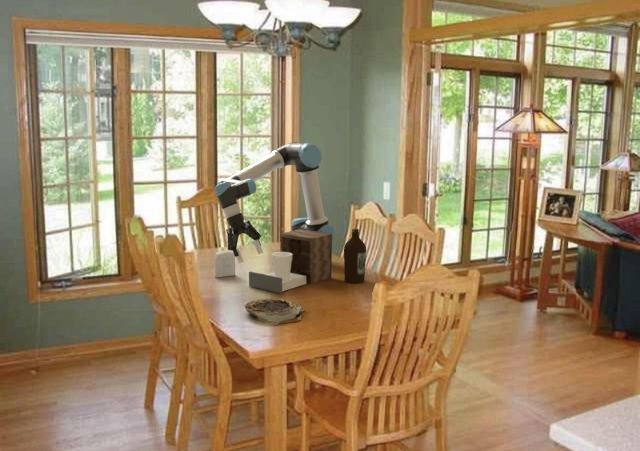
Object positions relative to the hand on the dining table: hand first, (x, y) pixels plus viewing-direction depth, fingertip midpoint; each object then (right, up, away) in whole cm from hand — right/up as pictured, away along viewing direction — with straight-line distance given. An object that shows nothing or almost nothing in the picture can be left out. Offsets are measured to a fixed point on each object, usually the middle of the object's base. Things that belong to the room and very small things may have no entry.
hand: (251, 257), depth 301 cm
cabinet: (+24, -10, +15) cm, 30 cm away
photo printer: (-14, -10, +17) cm, 24 cm away
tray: (+13, -13, 0) cm, 18 cm away
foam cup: (+14, -11, +1) cm, 18 cm away
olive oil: (+48, -12, +10) cm, 50 cm away
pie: (+12, -21, -42) cm, 48 cm away
